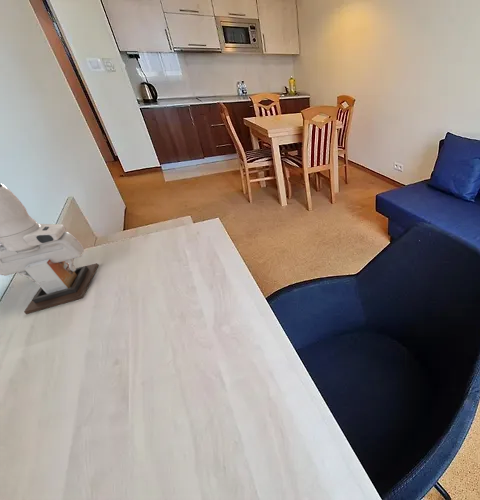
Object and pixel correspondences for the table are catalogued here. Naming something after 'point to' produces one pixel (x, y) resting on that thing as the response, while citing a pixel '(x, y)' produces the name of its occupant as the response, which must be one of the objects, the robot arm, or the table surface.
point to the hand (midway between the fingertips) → (55, 275)
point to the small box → (51, 275)
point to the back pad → (64, 291)
